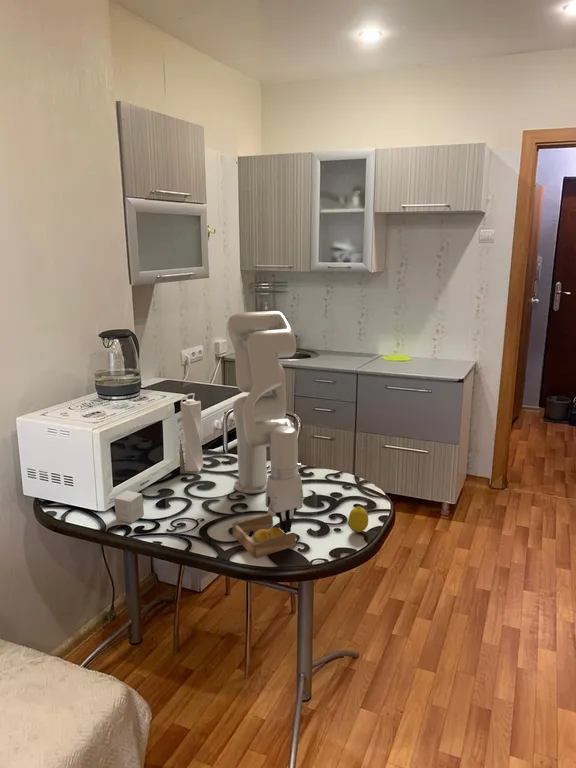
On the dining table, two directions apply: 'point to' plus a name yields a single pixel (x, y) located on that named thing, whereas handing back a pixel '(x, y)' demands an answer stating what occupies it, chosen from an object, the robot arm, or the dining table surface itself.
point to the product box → (129, 506)
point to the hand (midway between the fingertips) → (285, 530)
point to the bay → (265, 546)
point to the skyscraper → (191, 436)
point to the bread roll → (267, 534)
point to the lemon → (358, 519)
